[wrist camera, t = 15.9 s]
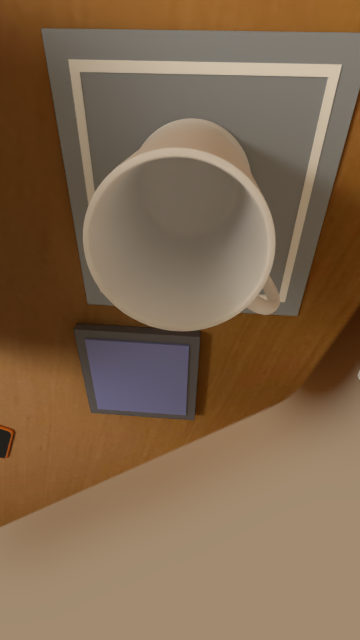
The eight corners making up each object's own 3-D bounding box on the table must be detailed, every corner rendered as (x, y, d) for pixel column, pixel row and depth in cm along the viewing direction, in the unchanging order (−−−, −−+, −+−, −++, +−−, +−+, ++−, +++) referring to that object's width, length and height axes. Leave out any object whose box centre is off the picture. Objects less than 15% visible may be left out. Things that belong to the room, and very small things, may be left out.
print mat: (88, 302, 30) (87, 304, 30) (43, 29, 19) (40, 27, 19) (296, 314, 29) (297, 316, 29) (372, 33, 18) (375, 32, 18)
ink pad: (93, 405, 38) (90, 414, 37) (76, 323, 32) (72, 330, 31) (194, 413, 38) (194, 421, 37) (200, 330, 31) (200, 338, 30)
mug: (300, 225, 24) (362, 313, 15) (212, 290, 28) (214, 396, 18) (195, 84, 20) (181, 74, 10) (107, 184, 24) (36, 247, 14)
